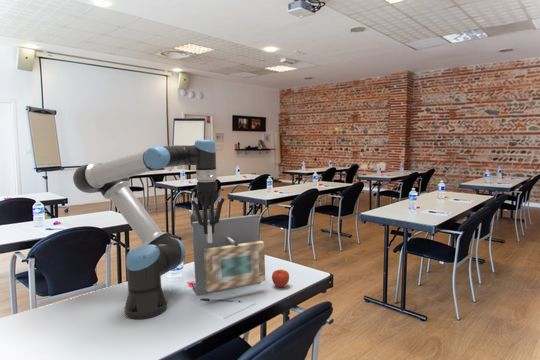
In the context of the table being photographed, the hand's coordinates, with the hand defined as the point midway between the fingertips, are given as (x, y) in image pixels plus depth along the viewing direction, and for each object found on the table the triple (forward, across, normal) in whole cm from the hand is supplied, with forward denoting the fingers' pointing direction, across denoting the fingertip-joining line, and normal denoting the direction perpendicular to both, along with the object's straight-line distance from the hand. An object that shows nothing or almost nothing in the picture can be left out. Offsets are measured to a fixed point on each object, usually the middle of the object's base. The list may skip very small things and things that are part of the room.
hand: (209, 242), depth 140 cm
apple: (+24, +30, +1) cm, 39 cm away
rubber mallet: (+24, +6, +31) cm, 40 cm away
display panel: (+24, +10, +10) cm, 28 cm away
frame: (+19, +10, -1) cm, 21 cm away
